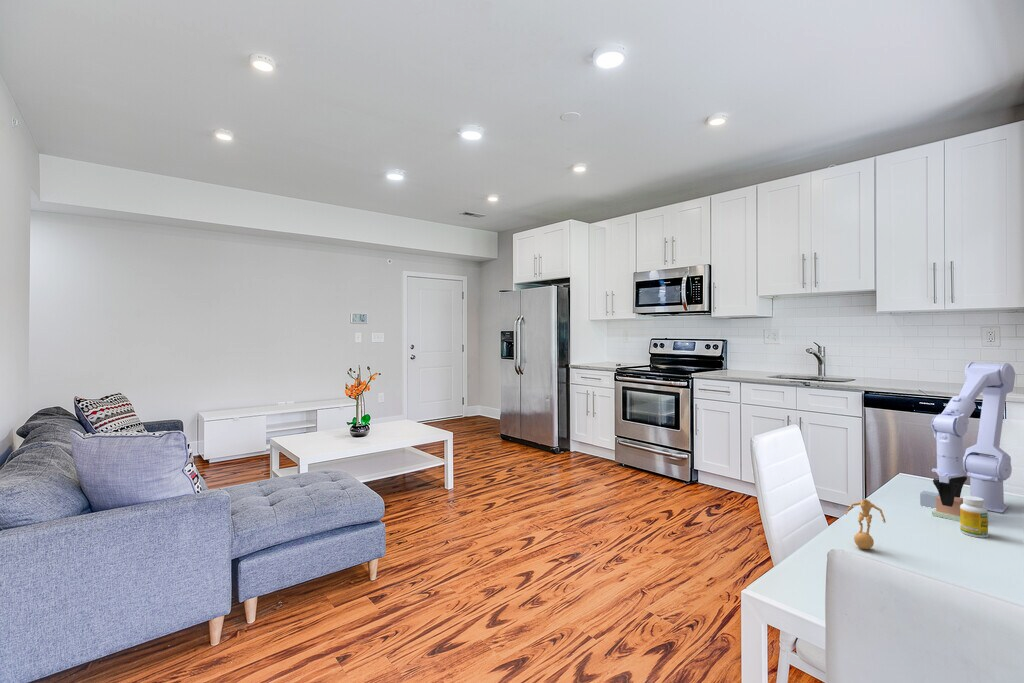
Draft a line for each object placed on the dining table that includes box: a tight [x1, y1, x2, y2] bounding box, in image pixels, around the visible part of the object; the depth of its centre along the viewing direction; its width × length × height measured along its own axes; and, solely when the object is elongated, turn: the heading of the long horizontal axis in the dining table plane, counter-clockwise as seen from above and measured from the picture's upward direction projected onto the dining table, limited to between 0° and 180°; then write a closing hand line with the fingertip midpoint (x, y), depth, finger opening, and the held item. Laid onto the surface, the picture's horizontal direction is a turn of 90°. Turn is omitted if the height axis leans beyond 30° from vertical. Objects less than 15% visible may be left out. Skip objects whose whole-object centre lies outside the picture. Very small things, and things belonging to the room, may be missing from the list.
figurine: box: [845, 498, 886, 550], centre depth 122 cm, size 8×6×12 cm
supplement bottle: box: [959, 495, 989, 539], centre depth 129 cm, size 5×5×10 cm
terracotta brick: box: [936, 495, 964, 516], centre depth 142 cm, size 5×5×4 cm
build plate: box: [931, 509, 960, 522], centre depth 142 cm, size 7×7×1 cm
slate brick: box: [919, 490, 939, 509], centre depth 151 cm, size 4×4×4 cm
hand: (950, 502), depth 142 cm, fingers open, 7 cm apart
